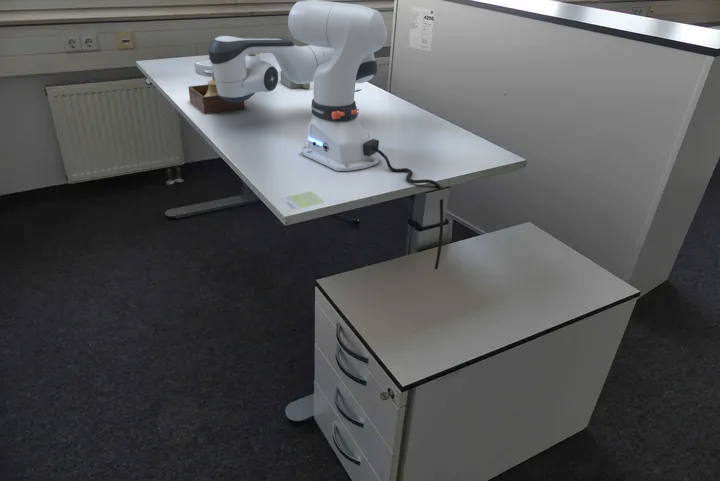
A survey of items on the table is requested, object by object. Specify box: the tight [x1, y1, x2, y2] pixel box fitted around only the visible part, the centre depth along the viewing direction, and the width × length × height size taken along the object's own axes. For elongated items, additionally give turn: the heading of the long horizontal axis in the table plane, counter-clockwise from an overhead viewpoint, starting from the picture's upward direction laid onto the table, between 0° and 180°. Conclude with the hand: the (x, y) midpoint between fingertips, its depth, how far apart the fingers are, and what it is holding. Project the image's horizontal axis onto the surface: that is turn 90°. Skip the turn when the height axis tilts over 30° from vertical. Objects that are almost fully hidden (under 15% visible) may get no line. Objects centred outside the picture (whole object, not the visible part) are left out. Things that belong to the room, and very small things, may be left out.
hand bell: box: [204, 56, 218, 97], centre depth 183 cm, size 8×8×16 cm
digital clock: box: [280, 69, 311, 90], centre depth 212 cm, size 16×9×11 cm, turn 20°
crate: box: [188, 84, 246, 115], centre depth 187 cm, size 14×14×5 cm
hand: (211, 60), depth 181 cm, fingers closed on hand bell, 2 cm apart
